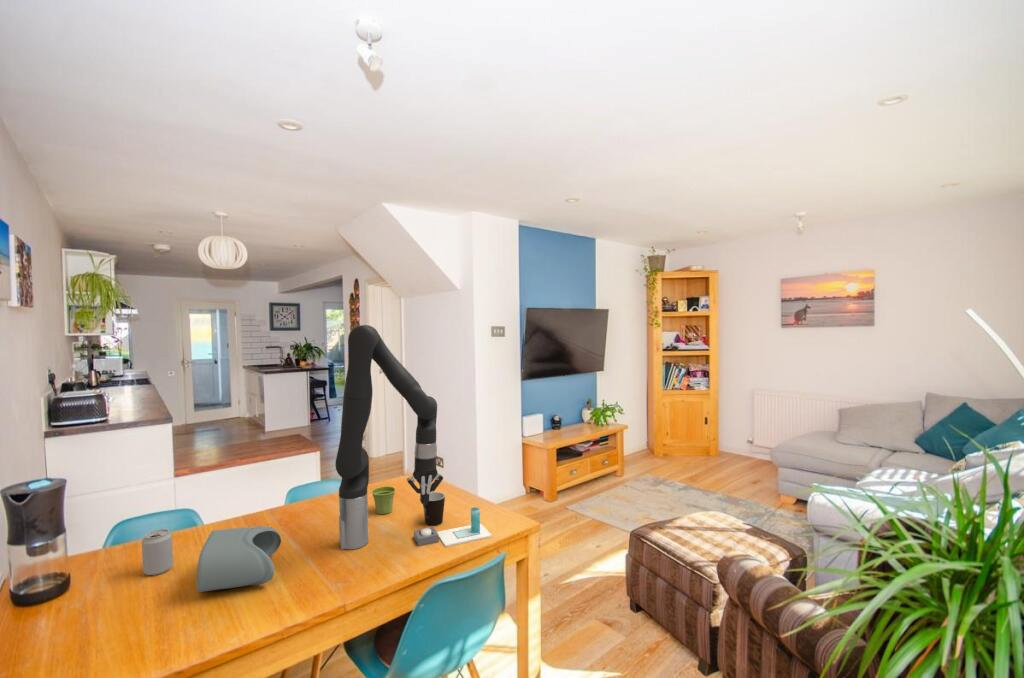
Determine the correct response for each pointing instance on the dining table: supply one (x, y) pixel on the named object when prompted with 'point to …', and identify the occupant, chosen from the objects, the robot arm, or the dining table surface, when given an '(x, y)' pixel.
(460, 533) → the sheet
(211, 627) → the dining table surface
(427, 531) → the button
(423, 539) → the button frame
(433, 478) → the robot arm
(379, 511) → the plant pot
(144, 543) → the can
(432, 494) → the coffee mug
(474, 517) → the marker
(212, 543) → the grey scooped bin
